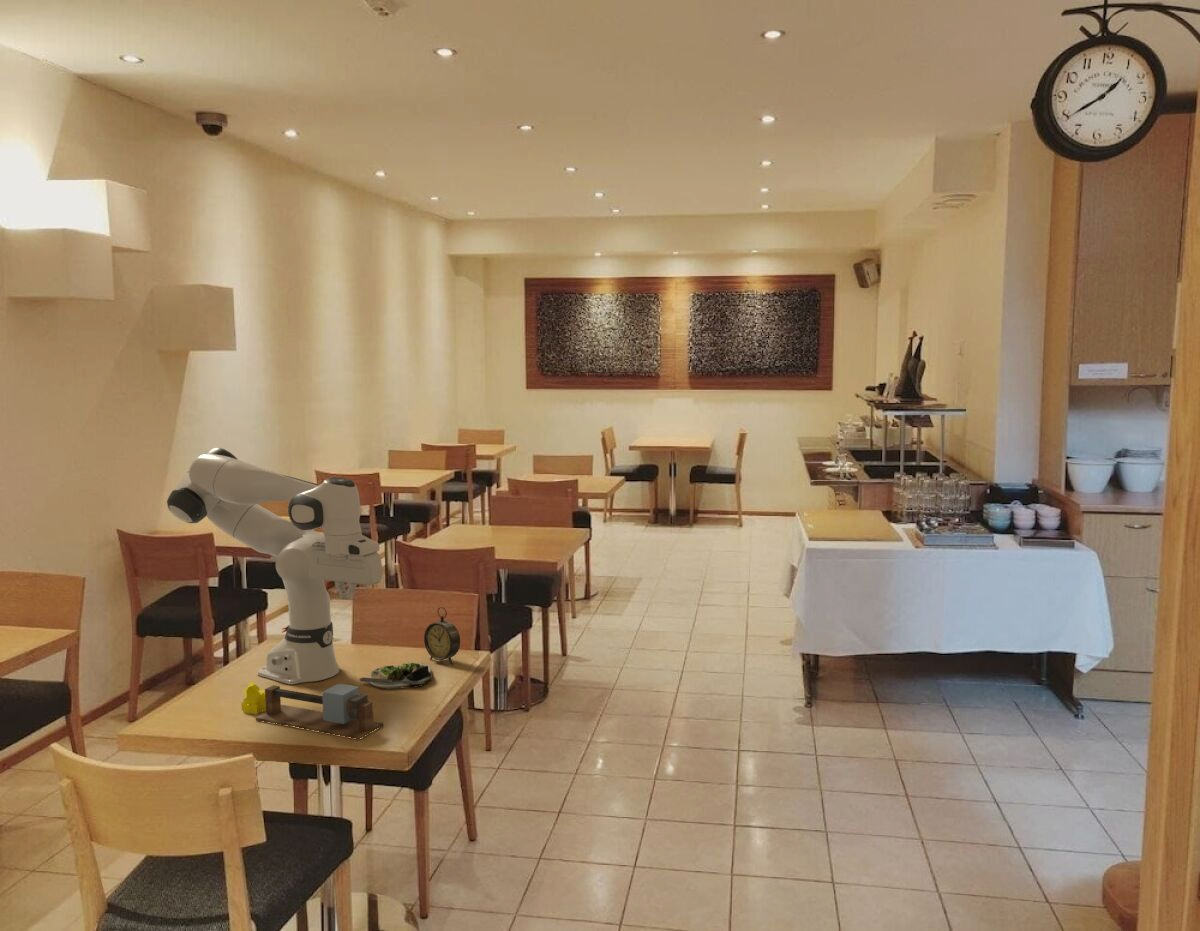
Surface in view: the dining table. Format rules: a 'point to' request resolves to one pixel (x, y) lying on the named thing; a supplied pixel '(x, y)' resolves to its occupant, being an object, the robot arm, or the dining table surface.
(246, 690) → the crumpled paper
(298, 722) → the rail rig
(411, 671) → the salad plate
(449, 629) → the alarm clock
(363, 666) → the dining table surface
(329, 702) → the sleeve
